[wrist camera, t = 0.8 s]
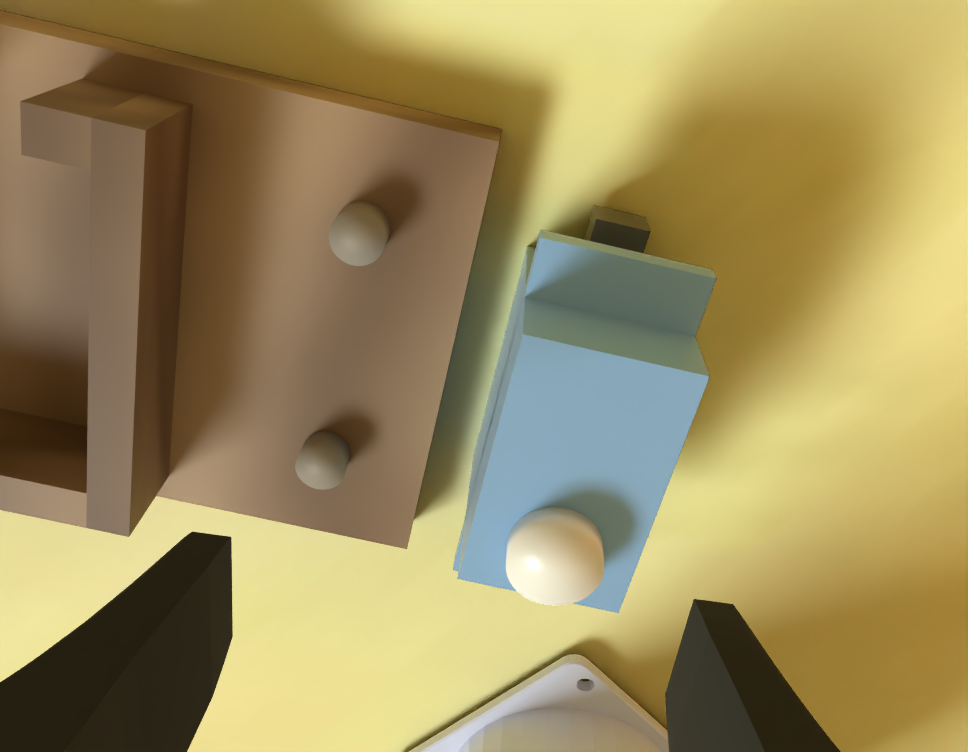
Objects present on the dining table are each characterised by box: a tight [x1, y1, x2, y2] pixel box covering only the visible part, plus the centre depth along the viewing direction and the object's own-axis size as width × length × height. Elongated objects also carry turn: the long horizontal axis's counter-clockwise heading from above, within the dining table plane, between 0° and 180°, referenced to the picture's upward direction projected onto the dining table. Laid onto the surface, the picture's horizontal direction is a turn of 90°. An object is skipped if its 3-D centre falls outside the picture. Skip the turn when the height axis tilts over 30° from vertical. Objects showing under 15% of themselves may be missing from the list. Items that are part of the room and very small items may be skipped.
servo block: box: [453, 205, 717, 613], centre depth 20 cm, size 9×4×6 cm, turn 168°
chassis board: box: [0, 10, 502, 549], centre depth 20 cm, size 16×11×4 cm
